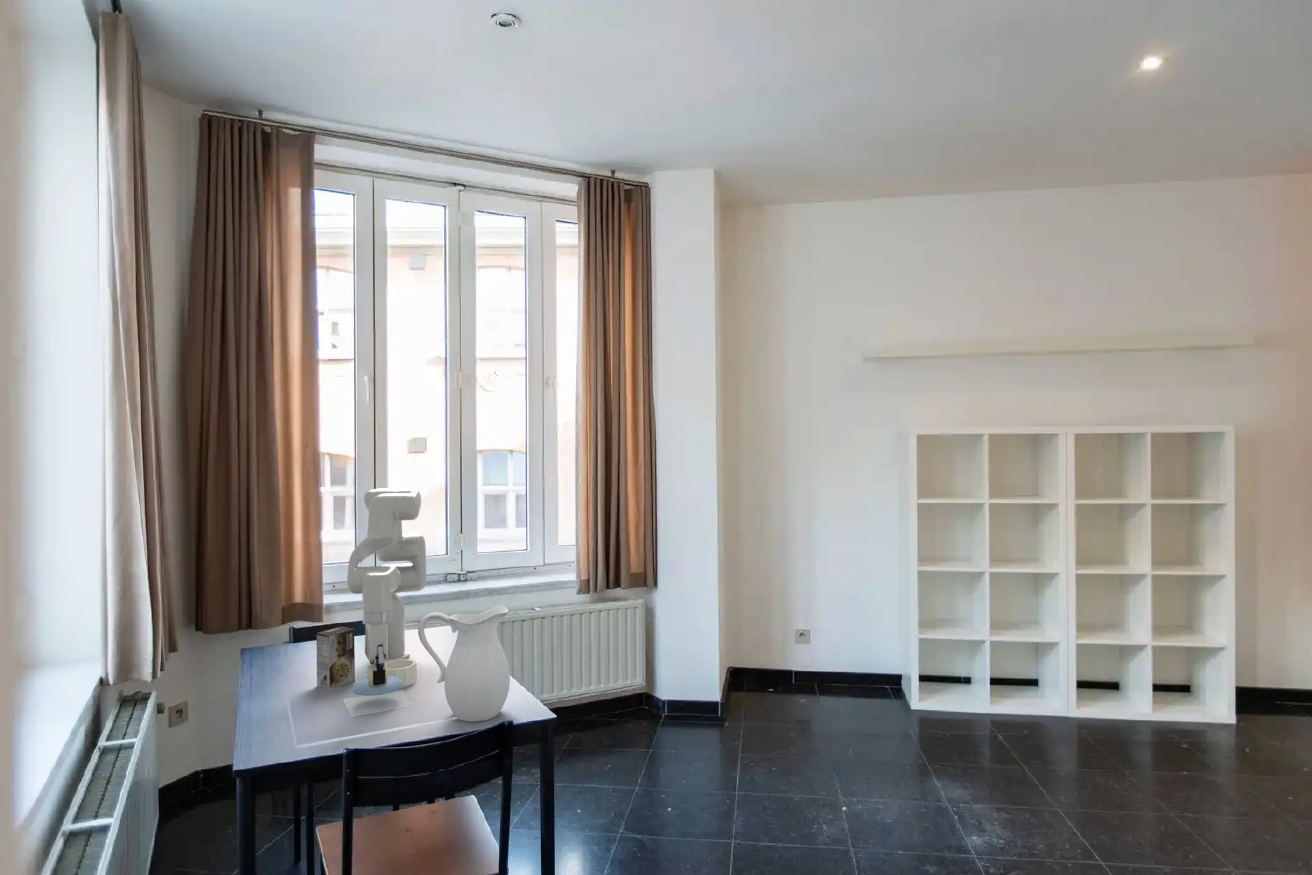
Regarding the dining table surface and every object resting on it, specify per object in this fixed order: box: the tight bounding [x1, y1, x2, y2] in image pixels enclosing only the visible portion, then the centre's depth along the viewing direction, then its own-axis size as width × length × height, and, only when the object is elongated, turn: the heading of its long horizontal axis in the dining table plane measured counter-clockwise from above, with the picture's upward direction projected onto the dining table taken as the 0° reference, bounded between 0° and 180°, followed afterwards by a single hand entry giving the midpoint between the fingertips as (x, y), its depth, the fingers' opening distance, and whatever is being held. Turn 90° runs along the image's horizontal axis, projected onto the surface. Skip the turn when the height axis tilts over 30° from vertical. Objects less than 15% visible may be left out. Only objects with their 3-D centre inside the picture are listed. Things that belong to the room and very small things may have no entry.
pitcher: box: [417, 605, 511, 723], centre depth 202 cm, size 24×17×28 cm
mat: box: [342, 689, 414, 718], centre depth 210 cm, size 16×16×1 cm
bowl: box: [385, 658, 418, 688], centre depth 228 cm, size 11×11×6 cm
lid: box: [352, 663, 403, 696], centre depth 211 cm, size 13×13×6 cm
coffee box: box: [315, 626, 356, 689], centre depth 229 cm, size 9×6×16 cm
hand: (377, 680), depth 211 cm, fingers closed on lid, 5 cm apart
